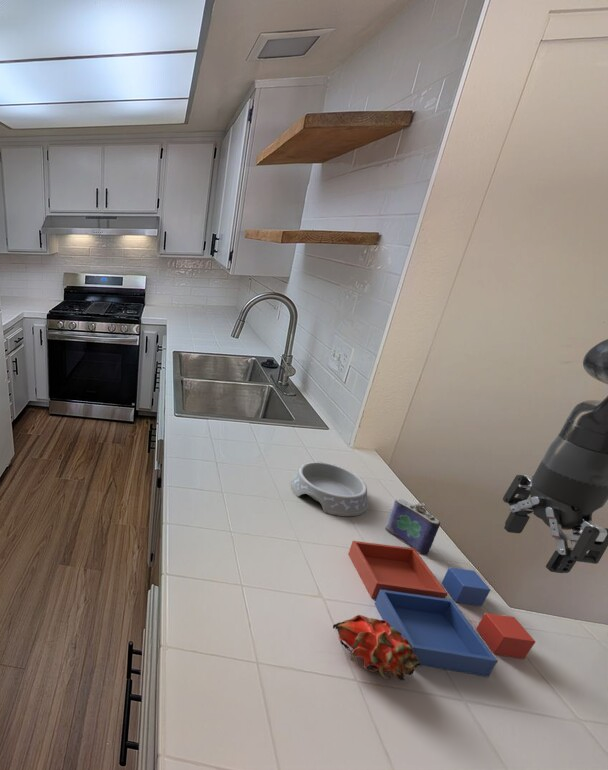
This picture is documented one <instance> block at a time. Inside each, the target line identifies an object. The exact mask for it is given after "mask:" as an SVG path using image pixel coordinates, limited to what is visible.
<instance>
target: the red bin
mask: <svg viewBox="0 0 608 770" xmlns="http://www.w3.org/2000/svg"><path fill="white" fill-rule="evenodd" d="M347 554H348V557H349V558H350V560H351V562H352V564H353V566H354V568H355V570H356V572H357V574H358V575H359V577H360V580H361V581H362V584H363V585H364V587H365V589H366V590H367V592H368V594H369V596H370V598H371V599H377V596H378V594H379V591H380V589H381V590H388V591H395V592H402V593H409V594H416V595H423V596H430V597H437V598H444V599H446V597H447V595H448V591H447V590H446V589H445V587H444V586H443V585H442V583H440V581H439V580H438V578H437V577H436V575H435V574H434V573H433V572H432V570H431V569H430V568H429V566H428V565H427V564H426V562H425V561H424V559H423V558H422V557H421V556H420V553H418V552H417V551H416V550H415V549H414V548H412V547H406V546H397V545H390V544H383V543H375V542H367V541H357V540H352V541H351V545H350V548H349V551H348V553H347Z"/></svg>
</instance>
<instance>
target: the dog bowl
mask: <svg viewBox="0 0 608 770" xmlns="http://www.w3.org/2000/svg"><path fill="white" fill-rule="evenodd" d="M290 485H291V489H292V491H293V493H294V494H295V496H297V497H298V498H299V497H301V496H302V495H305V494H306V495H308V496H309V497H310V498H311V499H312V500H315V501H316V502H318V503H319V504H320V505H321V507H322V511H323V512H324V513H326V514H329V515H333V516H339V517H357V516H360V515H362V514H363V513H365V512H366V511H367V509H368V486H367V484H366V482H365V481H364V479H362V478H361V477H360V476H359V475H358V474H356V473H355V472H353V471H352V470H350V469H348V468H345V467H342V466H341V465H337V464H334V463H330V462H324V461H310V462H306V463H303V464H302V465H301V466H300V467H299V469H298V470H297V472H296V473H295V475H294V477H293V478H292V480H291V482H290Z"/></svg>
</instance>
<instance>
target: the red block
mask: <svg viewBox="0 0 608 770" xmlns="http://www.w3.org/2000/svg"><path fill="white" fill-rule="evenodd" d="M475 631H476V633H477V634H478V635H479V637H480V638H481V639H482V641H483V642H484V643H485V645H486V646H487V647H488V649H489V650H490V651H491V653H492V654H493V655H498V656H504V657H510V658H516V659H522V660H524V659H525V658H526V657H527V656H528V654H529V652H530V651H531V649H532V648H533V646H534V645H535V643H536V640H535V639H534V638H533V637H532V636H531V634H530V633H529V632H528V631H527V630H526V628H524V626H523V625H522V624H521V623H520V622H519V621H518V619H517V618H516V617H515V616H510V615H504V614H497V613H490V612H484V613H483V616H482V618H481V619H480V621H479V623H478V624H477V626H476V628H475Z"/></svg>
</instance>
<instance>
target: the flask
mask: <svg viewBox="0 0 608 770" xmlns="http://www.w3.org/2000/svg"><path fill="white" fill-rule="evenodd" d="M424 506H426V503H424V502H421V501H419V502H418V503H414V504H413V503H411V502H409V501H407V500H405V499H403V498H396V499H395V500H394V502H393V506H392V509H391V511H390V514H389V516H388V519H387V521H386V524H385V527H384V529H385V531H387V532H388V533H389V534H390V535H392V536H394V537H395V538H397V540H399V541H401V542H403V543H405V544H406V545H407V546H409V547H410V548H414V549H415V550H416V552H417V553H418V554H419V555H420V554H421V555H423V556H426V555H429V552H430V551H431V549H432V545H433V542H434V540H435V538H436V536H437V533H438V530H439V528H440V526H441V522H440V520H439V519H437V518H436V517H435V516H434V515H433V514H430V513H429V512H427V509H426V508H424Z"/></svg>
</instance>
